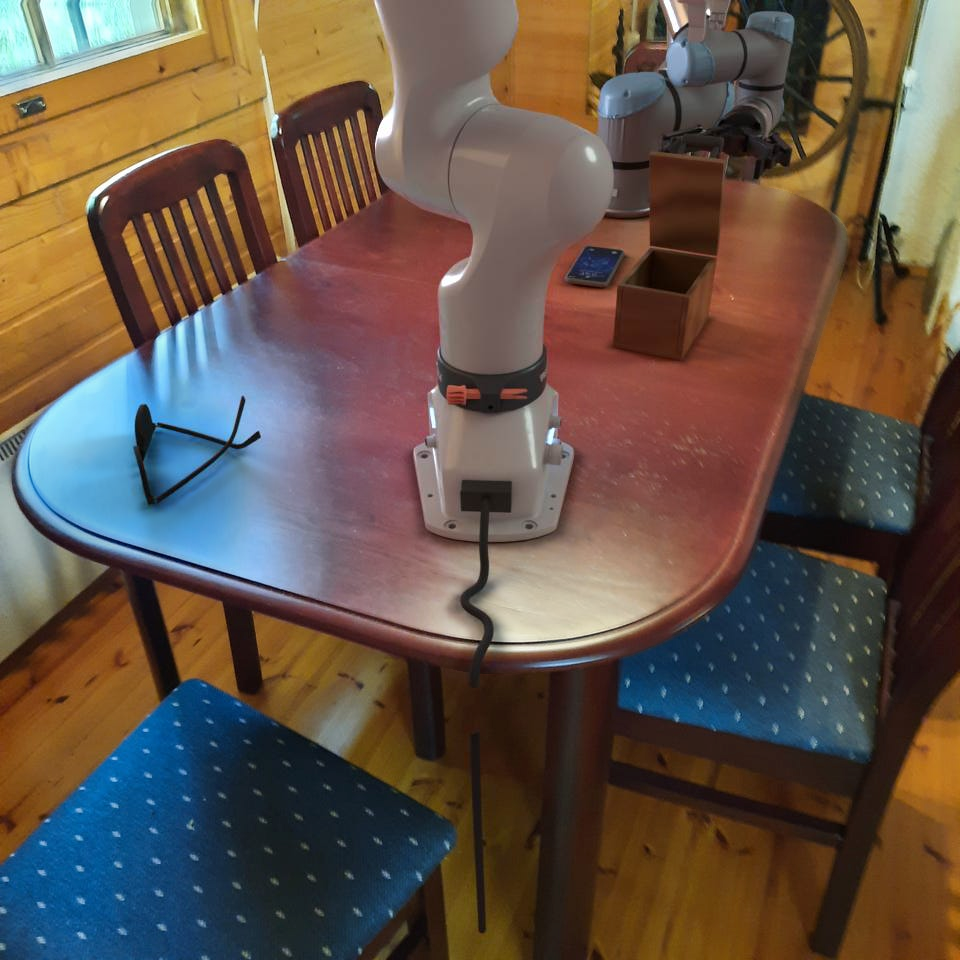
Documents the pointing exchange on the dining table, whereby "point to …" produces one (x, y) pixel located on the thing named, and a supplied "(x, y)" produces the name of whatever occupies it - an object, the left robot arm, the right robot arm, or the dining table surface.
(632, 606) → the dining table surface
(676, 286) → the chest
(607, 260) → the smartphone
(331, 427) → the dining table surface
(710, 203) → the lid
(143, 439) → the sunglasses
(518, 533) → the left robot arm
